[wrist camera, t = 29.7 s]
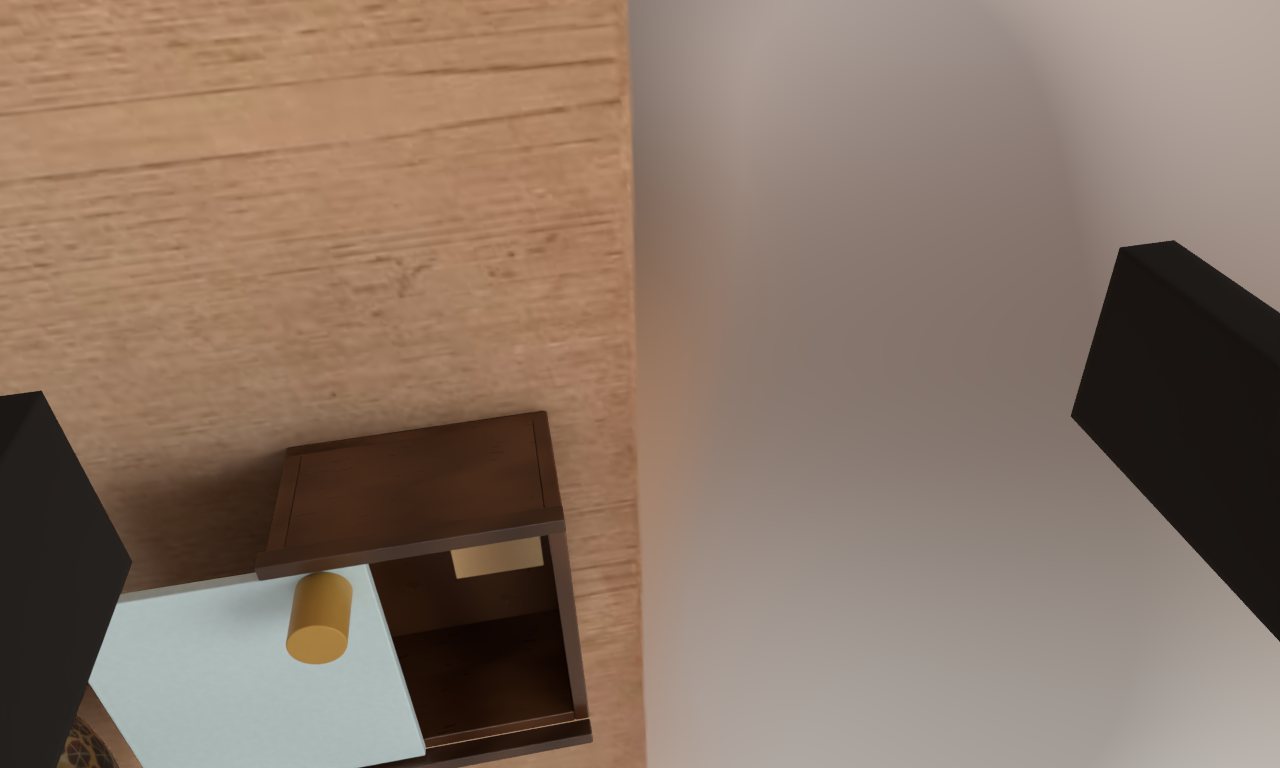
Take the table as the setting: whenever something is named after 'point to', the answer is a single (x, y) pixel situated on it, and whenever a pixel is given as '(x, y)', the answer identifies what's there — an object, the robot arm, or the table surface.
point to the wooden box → (450, 576)
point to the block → (497, 557)
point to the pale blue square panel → (257, 674)
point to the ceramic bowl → (85, 749)
